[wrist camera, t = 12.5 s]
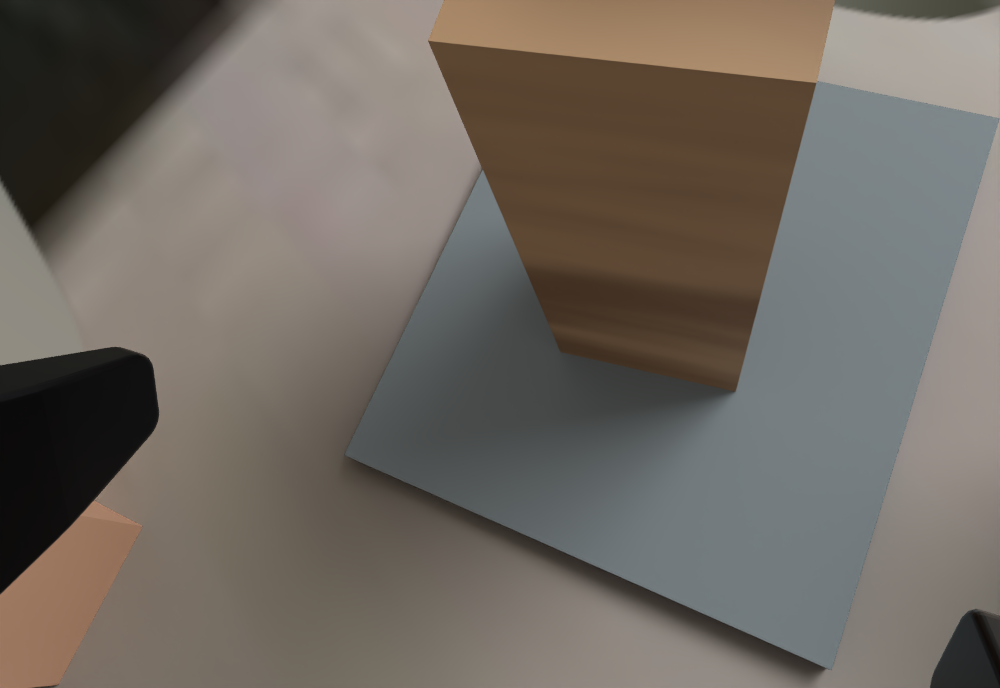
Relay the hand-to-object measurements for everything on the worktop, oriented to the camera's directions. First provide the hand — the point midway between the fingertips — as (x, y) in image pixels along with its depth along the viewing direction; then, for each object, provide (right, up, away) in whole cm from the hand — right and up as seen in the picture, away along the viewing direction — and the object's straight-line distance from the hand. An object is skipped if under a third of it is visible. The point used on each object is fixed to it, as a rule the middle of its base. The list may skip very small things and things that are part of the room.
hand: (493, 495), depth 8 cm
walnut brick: (+5, +3, +14) cm, 15 cm away
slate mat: (+5, +3, +15) cm, 16 cm away
